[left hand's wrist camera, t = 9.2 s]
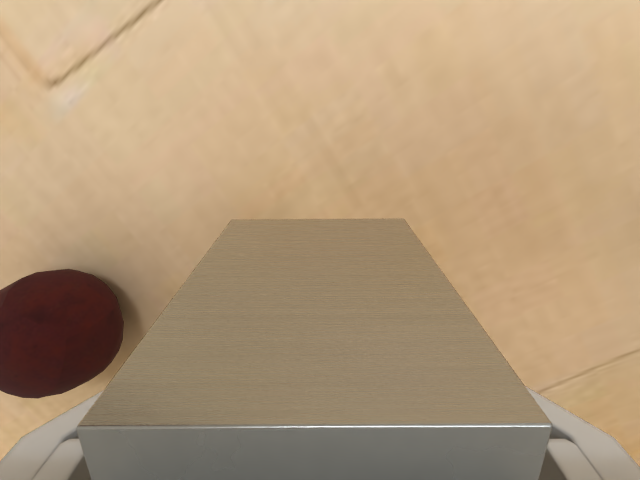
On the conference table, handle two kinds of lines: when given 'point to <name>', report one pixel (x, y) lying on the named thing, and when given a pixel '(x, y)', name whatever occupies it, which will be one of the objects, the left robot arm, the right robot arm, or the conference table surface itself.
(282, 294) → the bar
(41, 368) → the dark red plum
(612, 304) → the conference table surface
